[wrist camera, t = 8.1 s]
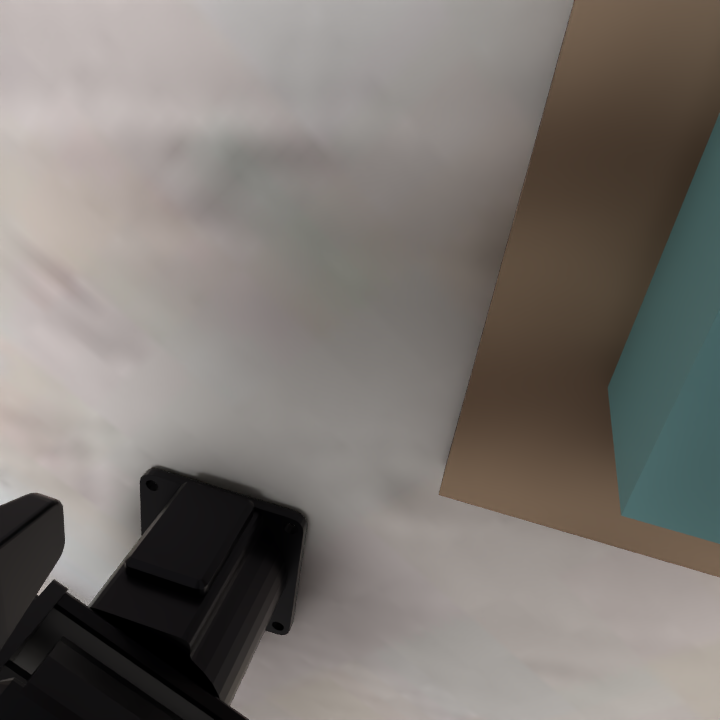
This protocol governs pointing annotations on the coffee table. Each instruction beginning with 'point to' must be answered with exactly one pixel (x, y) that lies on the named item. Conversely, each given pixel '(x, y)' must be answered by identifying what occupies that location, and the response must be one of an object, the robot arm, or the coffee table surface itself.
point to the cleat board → (588, 271)
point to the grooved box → (675, 375)
